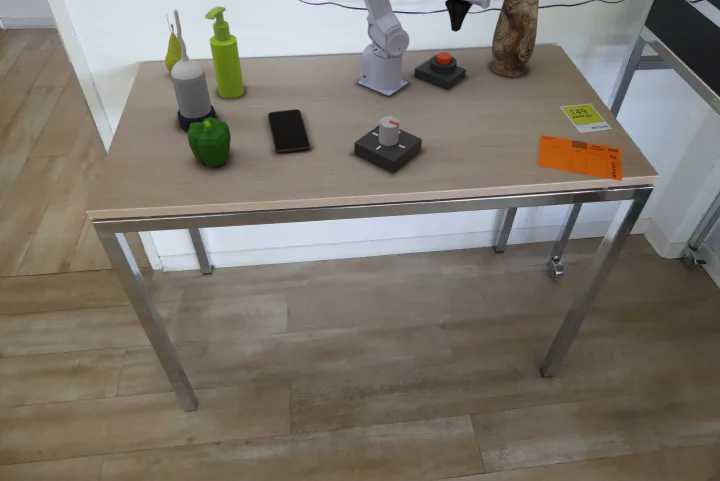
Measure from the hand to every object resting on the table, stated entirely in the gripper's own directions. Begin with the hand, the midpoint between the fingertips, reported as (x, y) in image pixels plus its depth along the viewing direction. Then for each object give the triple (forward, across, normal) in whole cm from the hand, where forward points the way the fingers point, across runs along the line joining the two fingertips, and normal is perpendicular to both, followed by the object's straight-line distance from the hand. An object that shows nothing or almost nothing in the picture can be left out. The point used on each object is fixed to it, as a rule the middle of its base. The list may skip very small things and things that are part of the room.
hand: (455, 29), depth 136 cm
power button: (+7, 0, +4) cm, 8 cm away
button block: (+10, 0, +5) cm, 12 cm away
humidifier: (+10, +30, +57) cm, 65 cm away
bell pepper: (+10, +17, +64) cm, 67 cm away
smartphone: (+10, +12, +47) cm, 50 cm away
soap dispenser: (+10, +34, +44) cm, 57 cm away
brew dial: (+7, -9, +39) cm, 41 cm away
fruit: (+10, +50, +46) cm, 69 cm away
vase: (+11, -11, -10) cm, 18 cm away
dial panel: (+10, -9, +39) cm, 41 cm away
